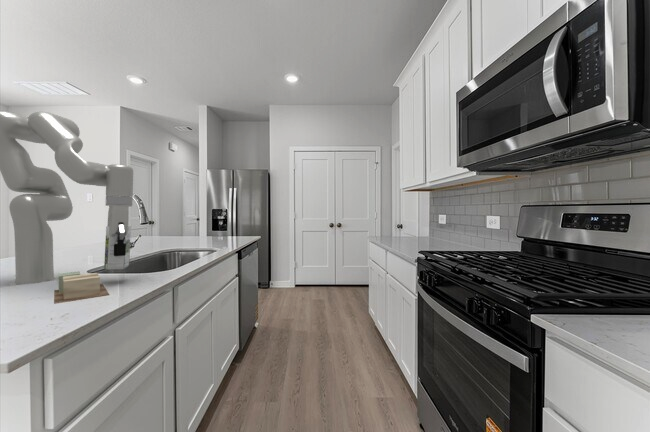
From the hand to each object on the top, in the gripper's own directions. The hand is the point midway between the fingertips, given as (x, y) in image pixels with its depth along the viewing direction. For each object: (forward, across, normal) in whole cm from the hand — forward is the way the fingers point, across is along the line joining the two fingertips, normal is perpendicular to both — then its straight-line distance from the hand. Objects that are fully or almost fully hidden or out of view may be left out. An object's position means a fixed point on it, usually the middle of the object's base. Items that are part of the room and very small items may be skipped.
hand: (117, 253), depth 102 cm
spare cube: (+10, +2, -12) cm, 16 cm away
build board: (+11, +8, -10) cm, 17 cm away
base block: (+10, +10, -10) cm, 17 cm away
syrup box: (+5, 0, 0) cm, 5 cm away
